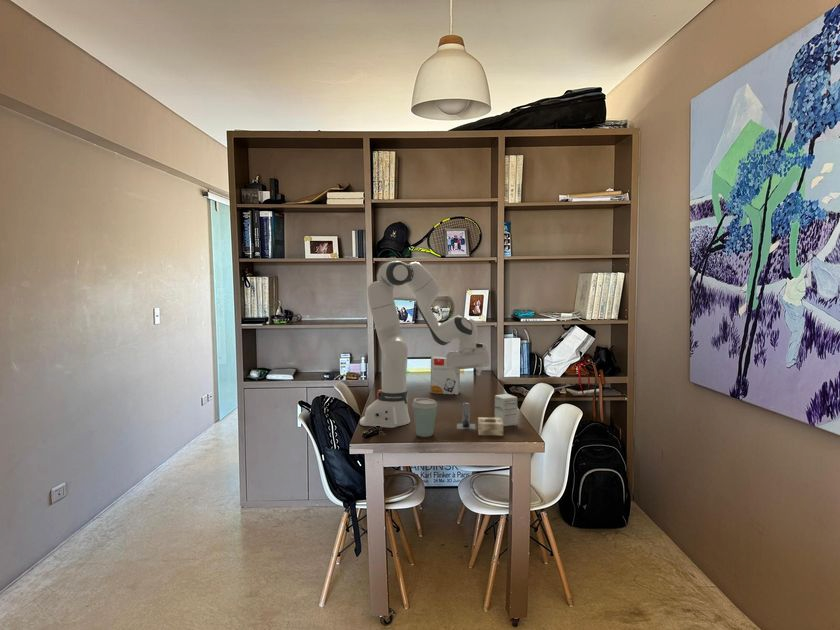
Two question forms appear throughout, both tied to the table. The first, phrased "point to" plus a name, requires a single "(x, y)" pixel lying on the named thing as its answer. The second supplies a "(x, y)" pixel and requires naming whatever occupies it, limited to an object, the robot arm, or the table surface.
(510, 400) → the supplement box
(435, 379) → the hard drive box
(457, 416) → the table surface
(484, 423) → the birch block
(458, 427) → the rubber mat
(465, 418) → the steel pin
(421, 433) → the disposable coffee cup
